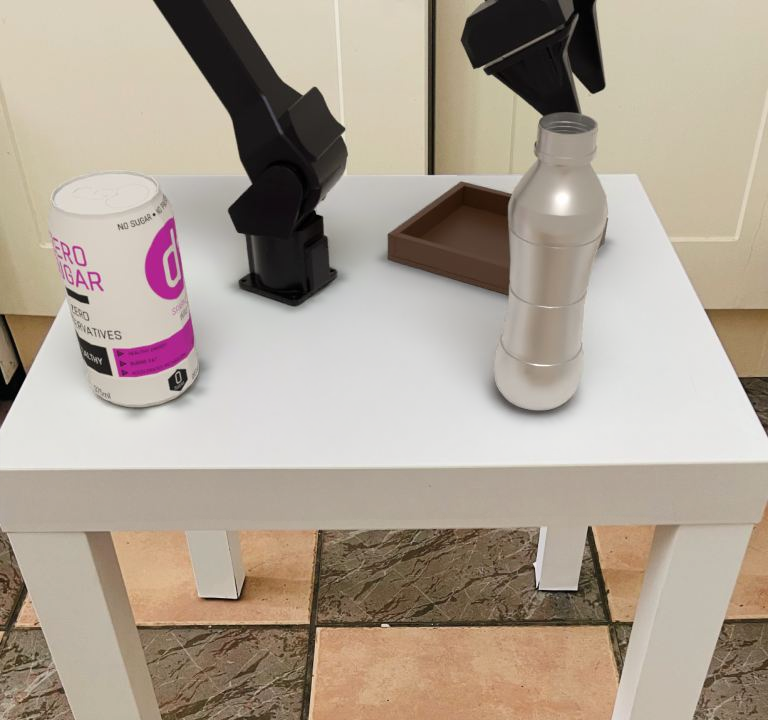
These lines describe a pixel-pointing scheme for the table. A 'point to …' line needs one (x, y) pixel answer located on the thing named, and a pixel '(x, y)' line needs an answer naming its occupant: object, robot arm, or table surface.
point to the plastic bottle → (551, 264)
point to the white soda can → (124, 286)
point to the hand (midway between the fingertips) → (589, 112)
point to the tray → (460, 237)
